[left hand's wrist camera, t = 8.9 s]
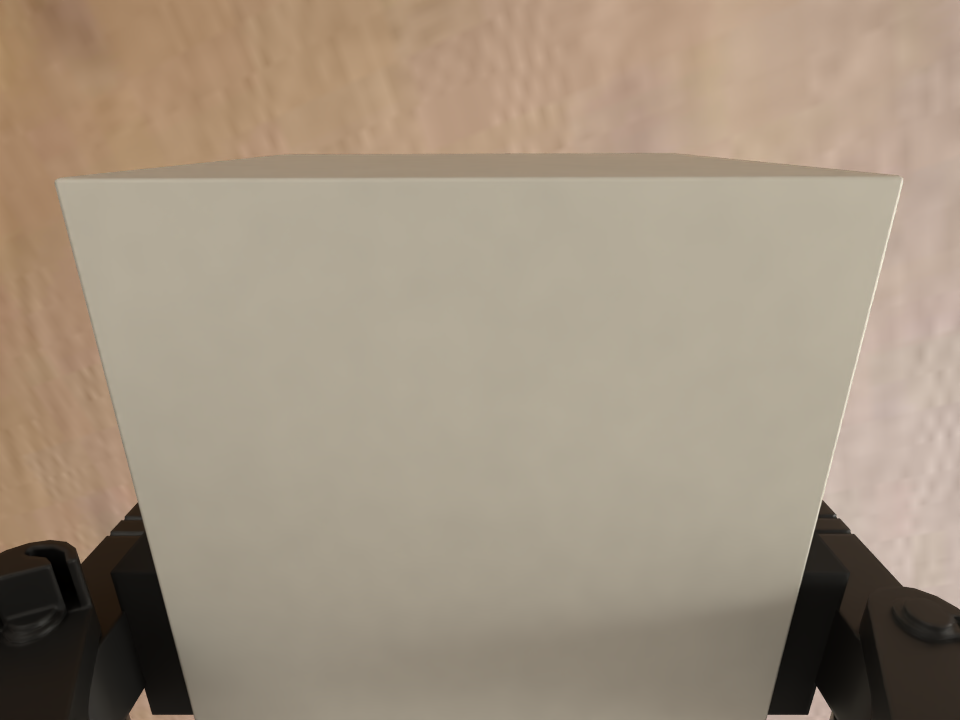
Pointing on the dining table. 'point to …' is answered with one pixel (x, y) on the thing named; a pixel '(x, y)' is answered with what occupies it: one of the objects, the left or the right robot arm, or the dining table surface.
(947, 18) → the dining table surface
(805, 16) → the dining table surface
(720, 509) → the wide beam
